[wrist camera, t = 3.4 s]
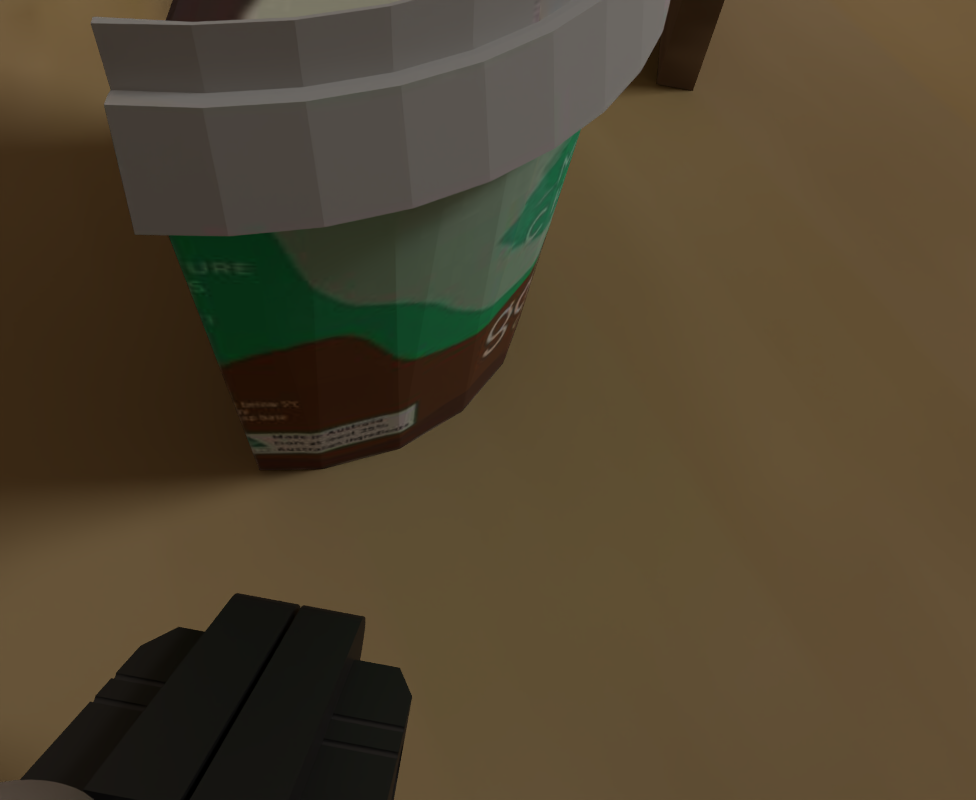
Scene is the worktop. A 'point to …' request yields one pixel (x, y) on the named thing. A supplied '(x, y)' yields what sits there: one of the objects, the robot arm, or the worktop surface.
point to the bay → (686, 41)
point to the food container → (359, 190)
